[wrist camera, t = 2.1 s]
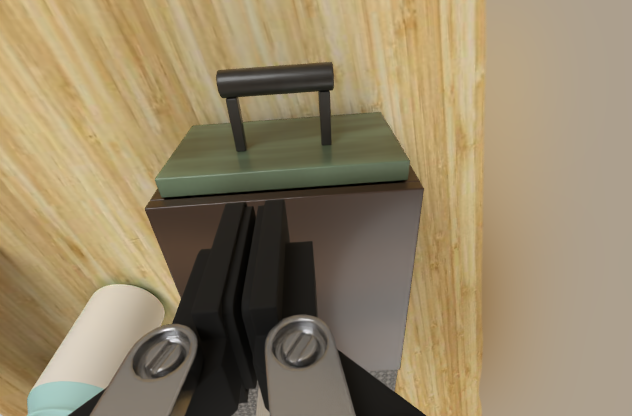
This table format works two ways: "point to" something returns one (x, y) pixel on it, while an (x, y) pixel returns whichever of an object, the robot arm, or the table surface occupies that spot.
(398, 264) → the cabinet
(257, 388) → the model
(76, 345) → the can
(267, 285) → the robot arm
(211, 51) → the table surface
